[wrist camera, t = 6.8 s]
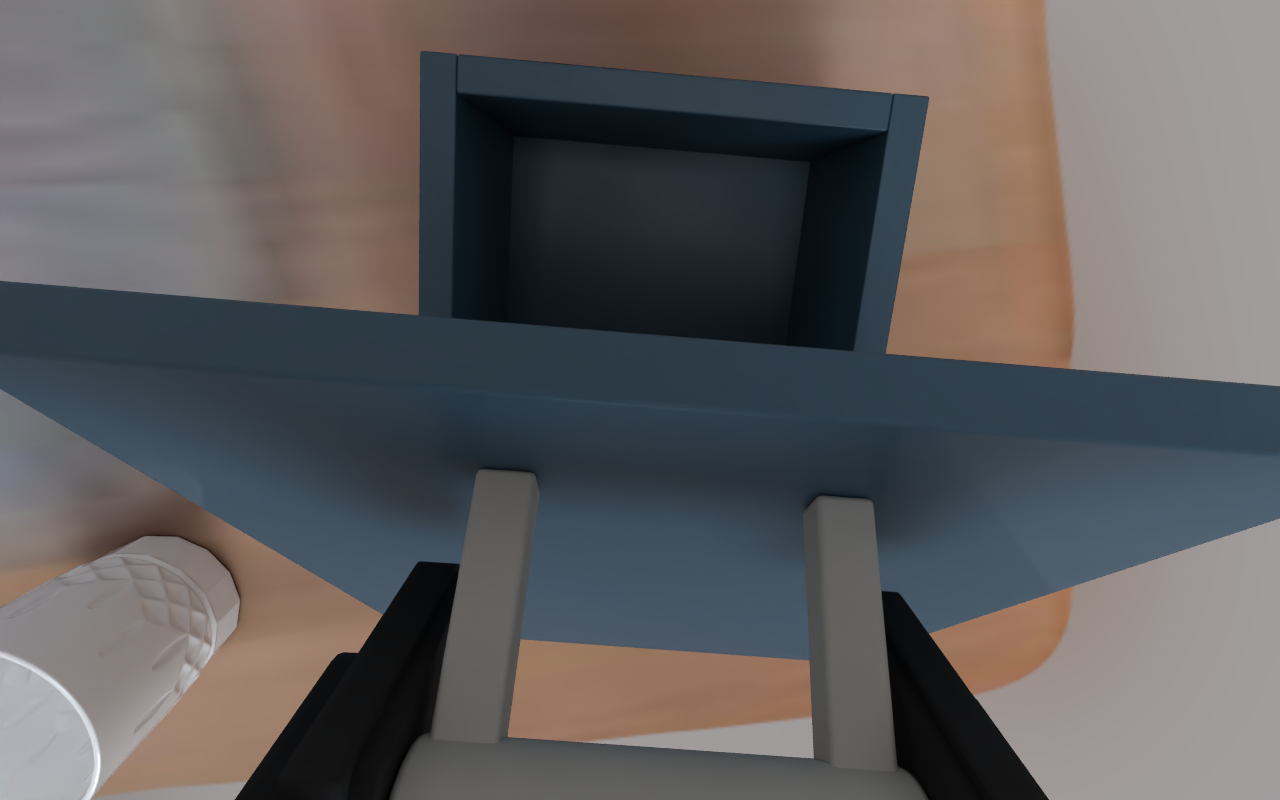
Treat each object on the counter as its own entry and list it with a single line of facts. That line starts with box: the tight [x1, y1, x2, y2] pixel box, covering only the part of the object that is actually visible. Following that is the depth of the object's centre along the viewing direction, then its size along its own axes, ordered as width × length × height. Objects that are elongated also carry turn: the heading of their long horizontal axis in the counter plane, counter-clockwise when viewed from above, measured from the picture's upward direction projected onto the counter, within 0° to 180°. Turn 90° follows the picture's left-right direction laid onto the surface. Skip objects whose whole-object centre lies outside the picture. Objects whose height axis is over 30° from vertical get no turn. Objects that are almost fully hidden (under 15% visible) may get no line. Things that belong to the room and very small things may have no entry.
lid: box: [0, 281, 1280, 800], centre depth 13 cm, size 18×14×6 cm
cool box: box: [419, 51, 929, 354], centre depth 26 cm, size 17×14×10 cm
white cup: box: [0, 536, 240, 800], centre depth 29 cm, size 8×8×10 cm
